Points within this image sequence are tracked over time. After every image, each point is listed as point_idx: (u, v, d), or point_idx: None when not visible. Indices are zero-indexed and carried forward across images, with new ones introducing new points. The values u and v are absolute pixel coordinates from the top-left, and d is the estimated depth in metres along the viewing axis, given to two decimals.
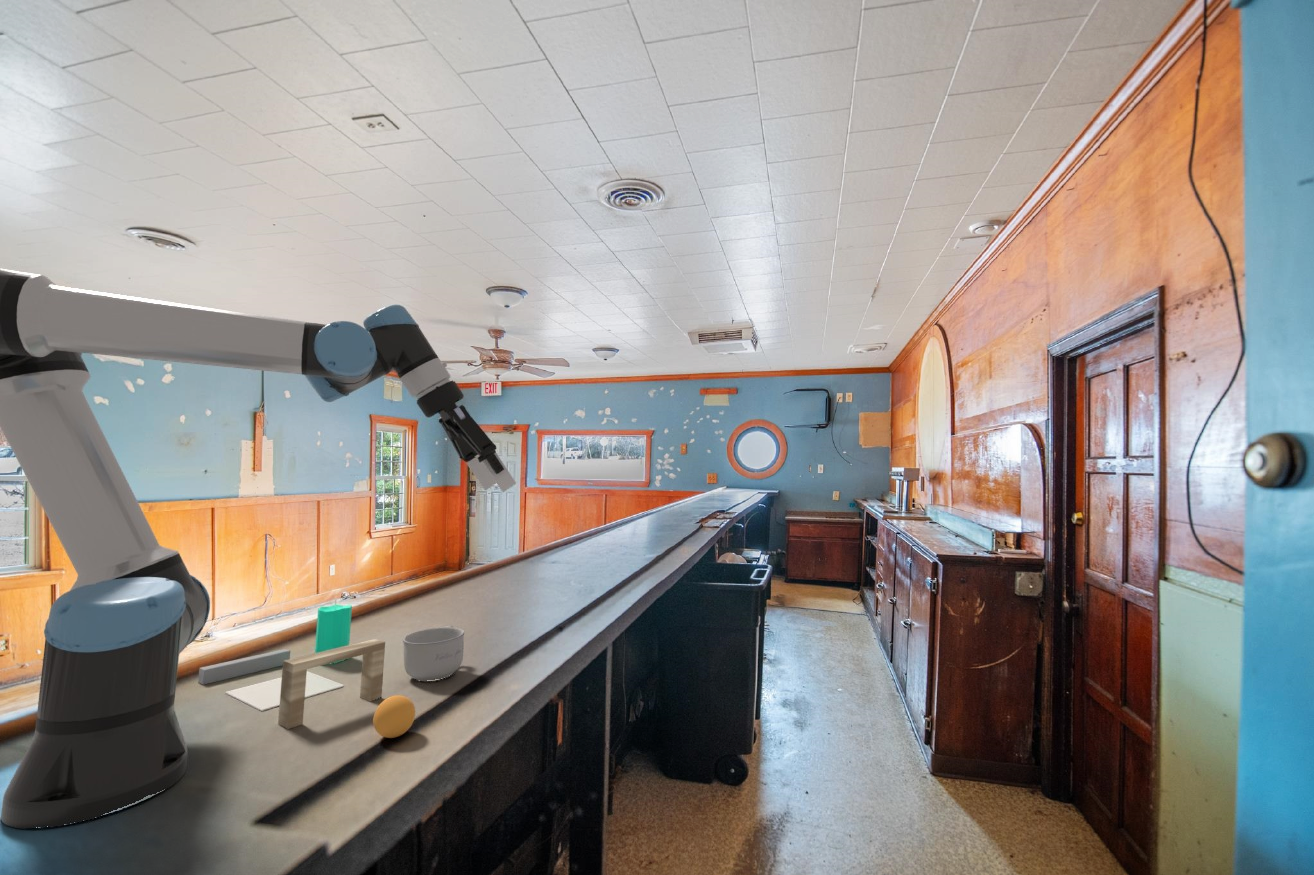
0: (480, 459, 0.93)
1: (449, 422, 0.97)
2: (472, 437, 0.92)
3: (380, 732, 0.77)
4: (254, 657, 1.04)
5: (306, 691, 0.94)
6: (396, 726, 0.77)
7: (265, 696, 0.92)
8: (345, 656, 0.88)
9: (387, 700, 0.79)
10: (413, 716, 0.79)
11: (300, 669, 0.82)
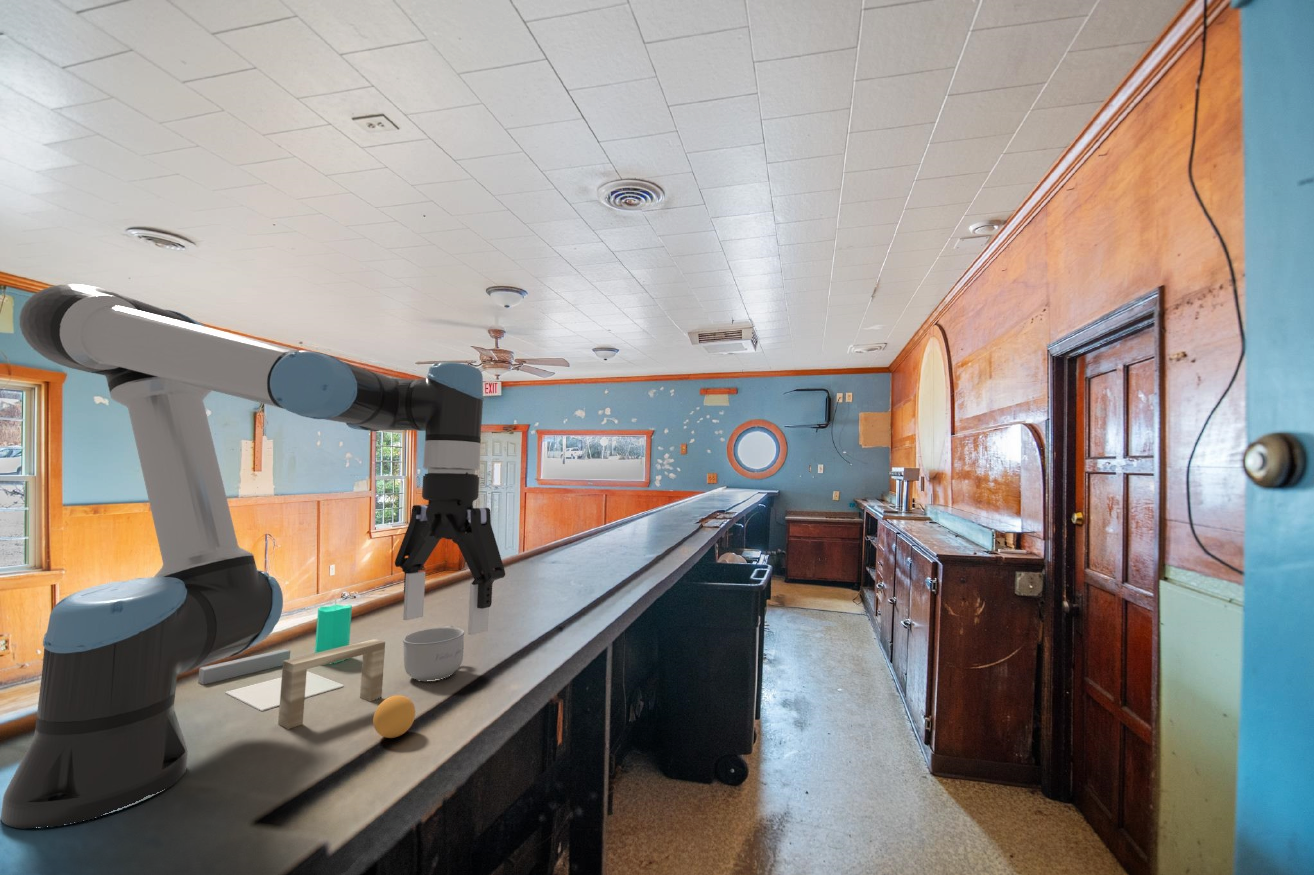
0: (477, 581, 0.71)
1: (451, 518, 0.75)
2: (486, 550, 0.72)
3: (380, 732, 0.77)
4: (254, 657, 1.04)
5: (306, 691, 0.94)
6: (396, 726, 0.77)
7: (265, 696, 0.92)
8: (345, 656, 0.88)
9: (387, 700, 0.79)
10: (413, 716, 0.79)
11: (300, 669, 0.82)
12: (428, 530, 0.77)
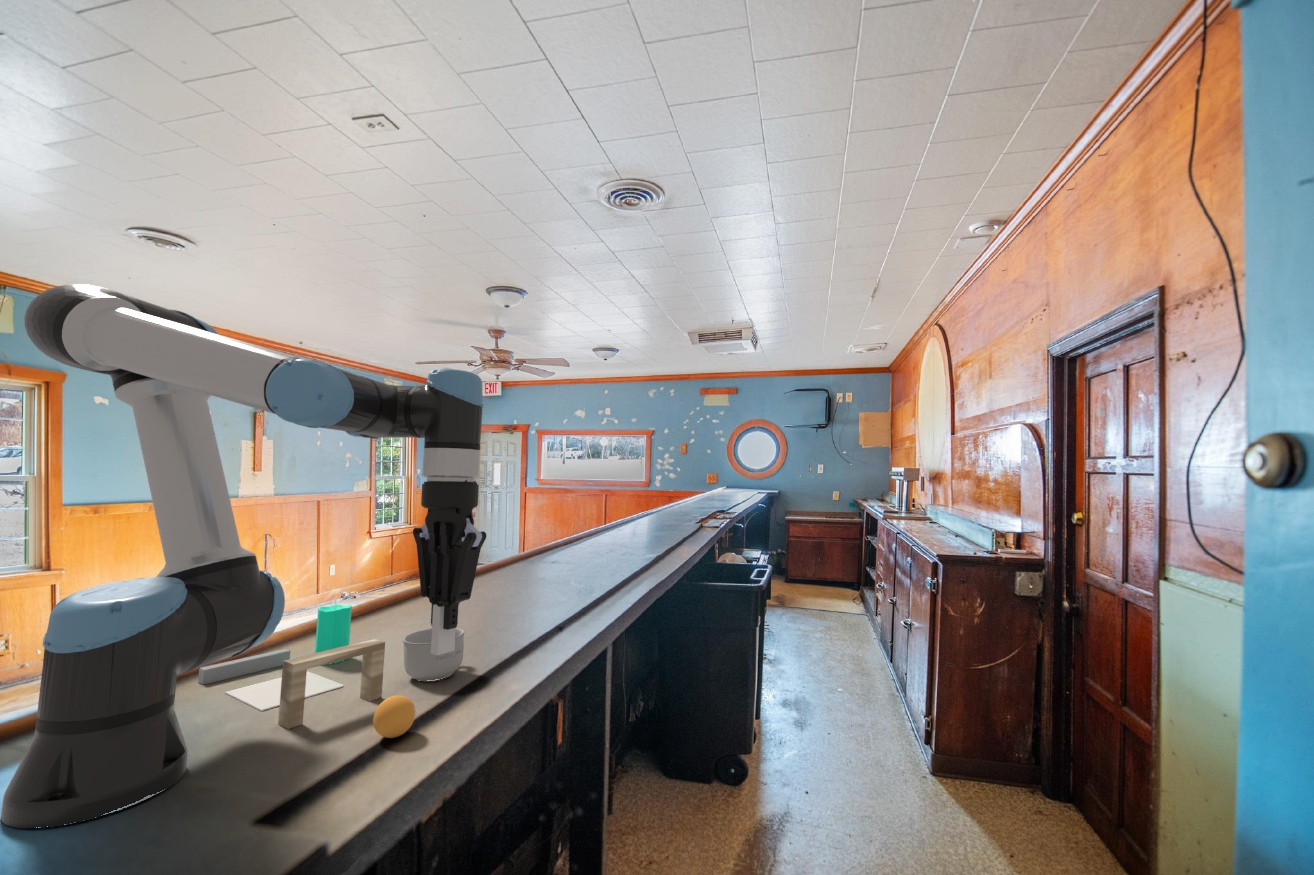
0: (442, 605, 0.73)
1: (449, 530, 0.75)
2: (462, 576, 0.73)
3: (380, 732, 0.77)
4: (254, 657, 1.04)
5: (306, 691, 0.94)
6: (396, 726, 0.77)
7: (265, 696, 0.92)
8: (345, 656, 0.88)
9: (387, 700, 0.79)
10: (413, 716, 0.79)
11: (300, 669, 0.82)
12: (434, 540, 0.76)
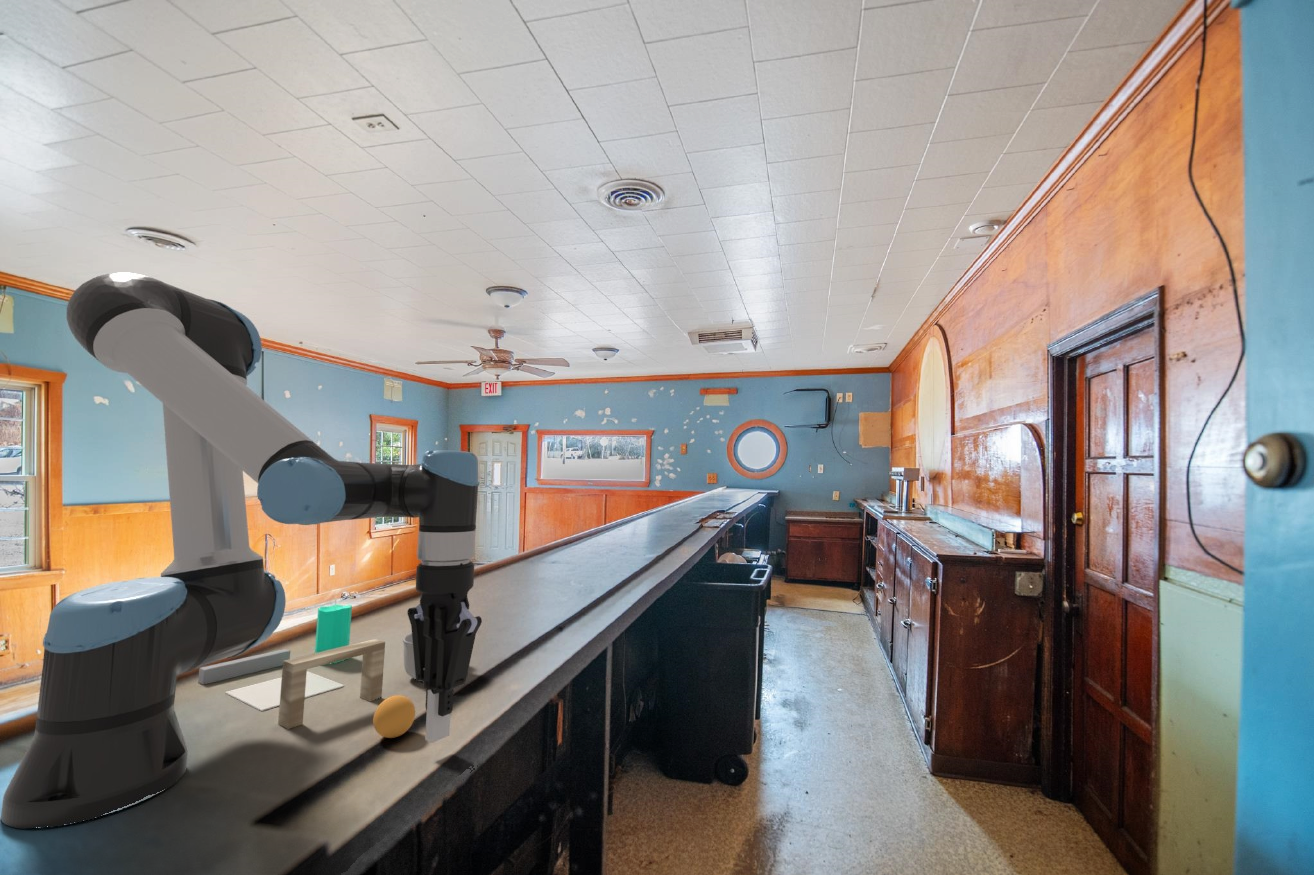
0: (436, 693, 0.73)
1: (444, 615, 0.74)
2: (457, 663, 0.72)
3: (380, 732, 0.77)
4: (254, 657, 1.04)
5: (306, 691, 0.94)
6: (396, 726, 0.77)
7: (265, 696, 0.92)
8: (345, 656, 0.88)
9: (387, 700, 0.79)
10: (413, 716, 0.79)
11: (300, 669, 0.82)
12: (428, 624, 0.75)
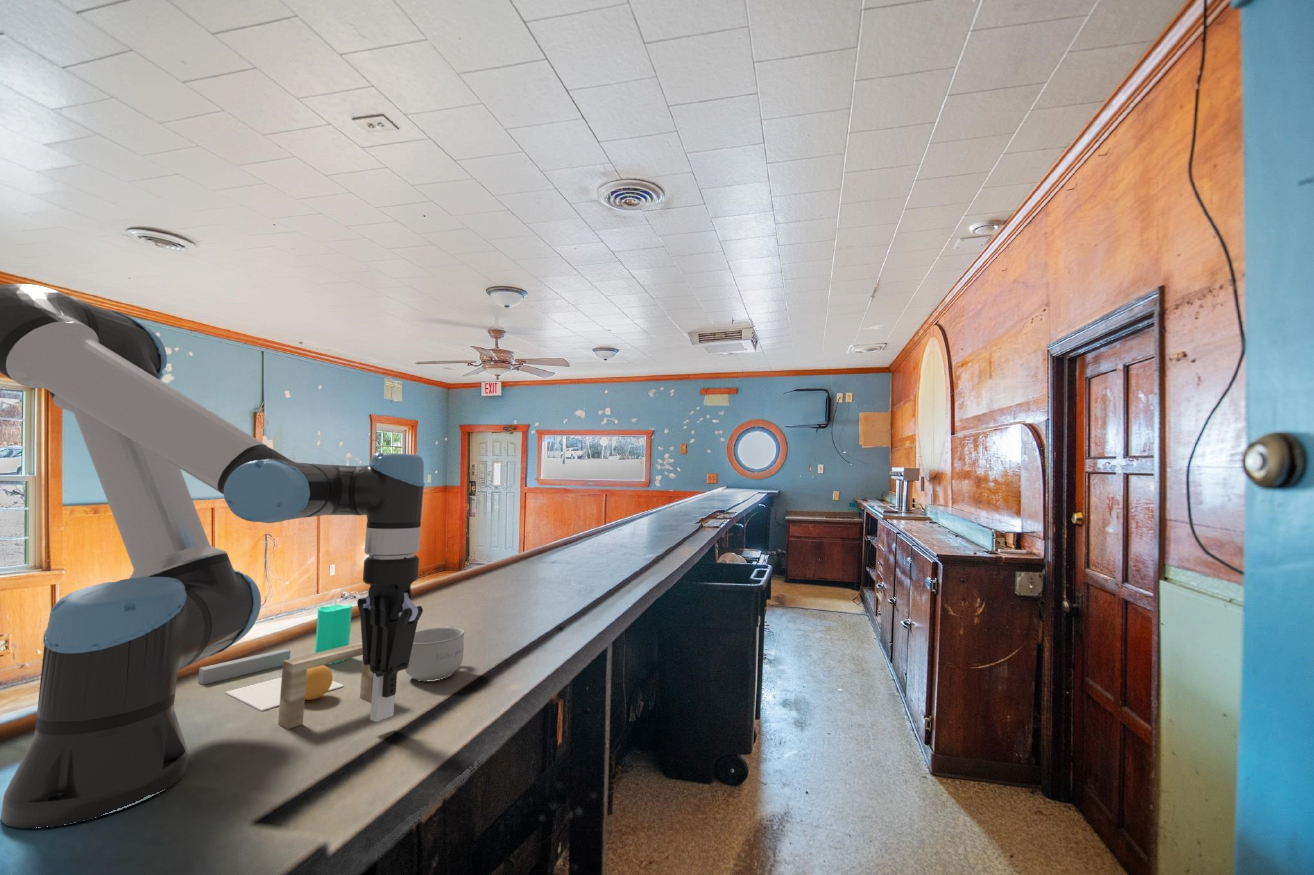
0: (380, 676, 0.79)
1: (388, 605, 0.80)
2: (399, 649, 0.79)
3: None
4: (254, 657, 1.04)
5: None
6: None
7: (265, 696, 0.92)
8: (345, 656, 0.88)
9: None
10: None
11: (300, 669, 0.82)
12: (374, 613, 0.81)
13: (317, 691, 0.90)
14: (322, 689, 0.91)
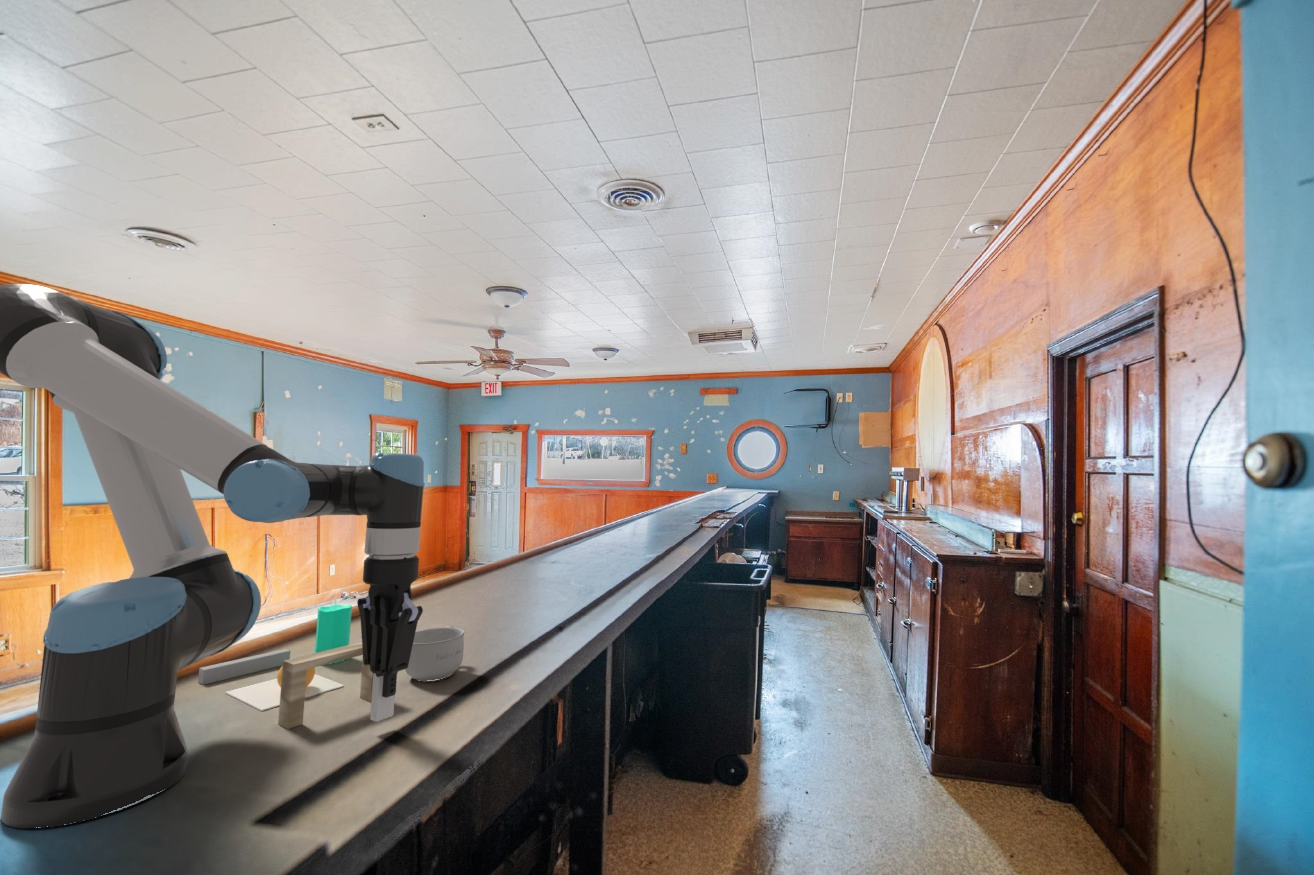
0: (380, 676, 0.79)
1: (388, 605, 0.80)
2: (399, 649, 0.79)
3: None
4: (254, 657, 1.04)
5: (306, 691, 0.94)
6: None
7: (265, 696, 0.92)
8: (345, 656, 0.88)
9: None
10: None
11: (300, 669, 0.82)
12: (374, 613, 0.81)
13: None
14: None
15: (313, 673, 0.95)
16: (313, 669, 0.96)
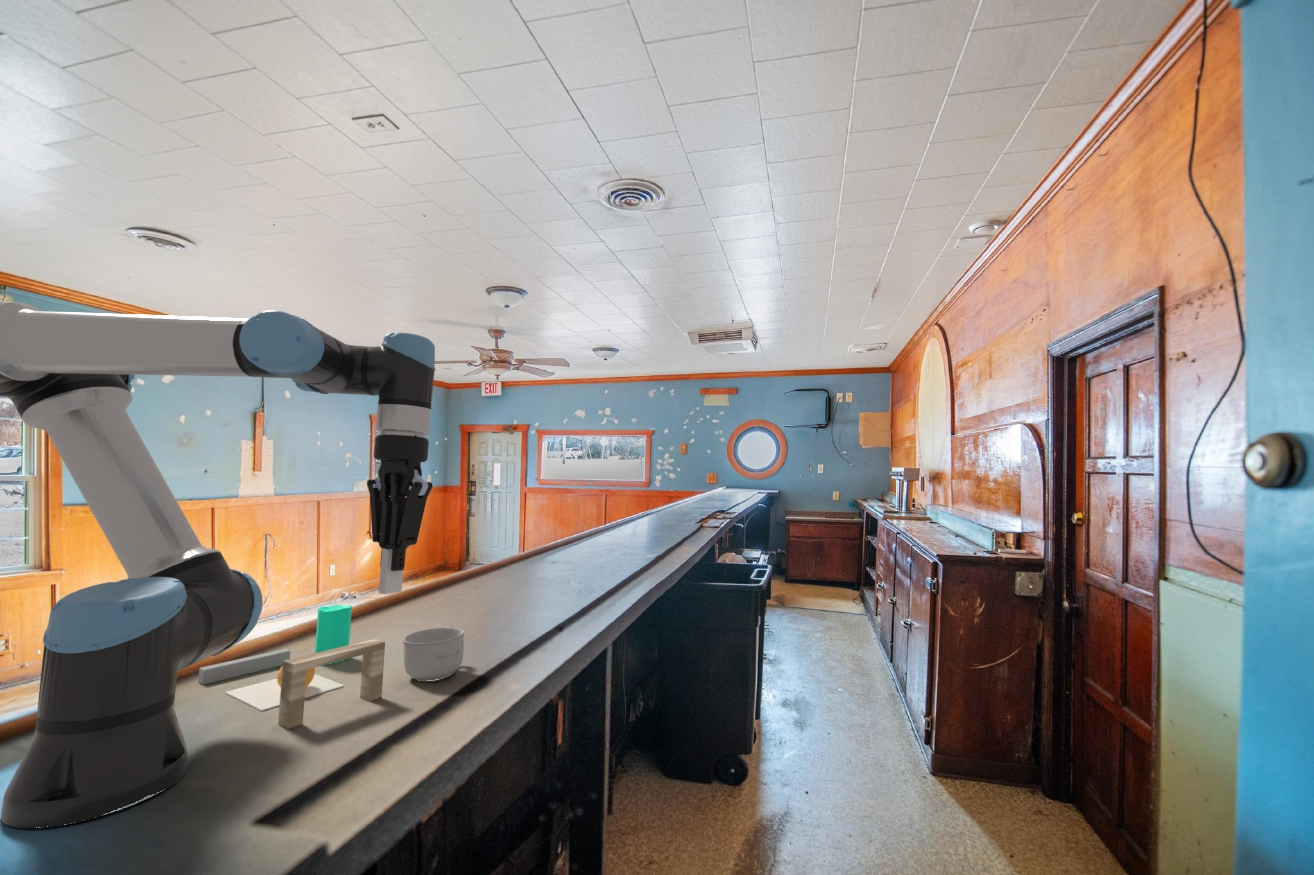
0: (389, 548, 0.80)
1: (398, 480, 0.81)
2: (409, 522, 0.80)
3: None
4: (254, 657, 1.04)
5: (306, 691, 0.94)
6: None
7: (265, 696, 0.92)
8: (345, 656, 0.88)
9: None
10: None
11: (300, 669, 0.82)
12: (384, 490, 0.82)
13: None
14: None
15: (313, 673, 0.95)
16: (313, 669, 0.96)
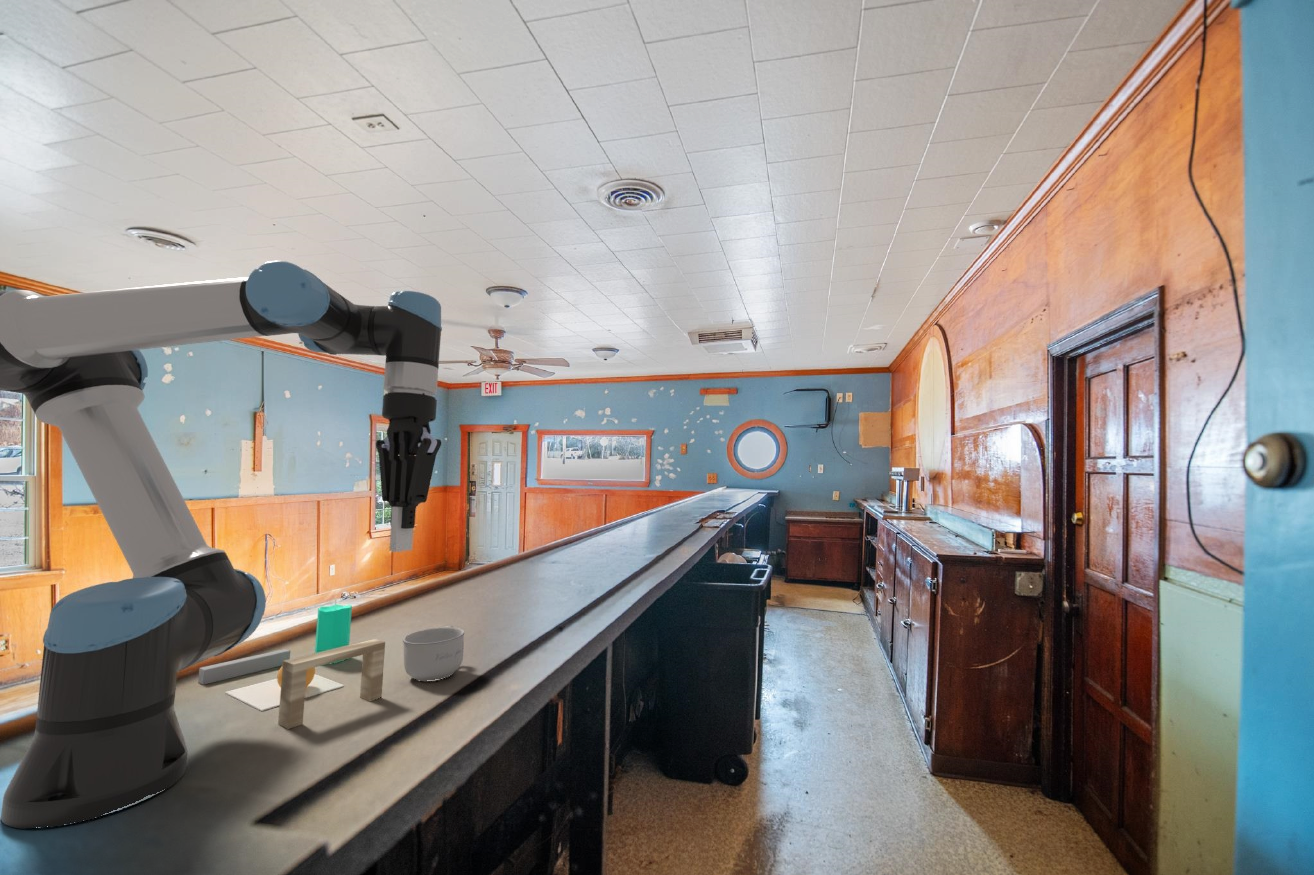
0: (399, 505, 0.80)
1: (407, 438, 0.81)
2: (418, 478, 0.80)
3: None
4: (254, 657, 1.04)
5: (306, 691, 0.94)
6: None
7: (265, 696, 0.92)
8: (345, 656, 0.88)
9: None
10: None
11: (300, 669, 0.82)
12: (393, 448, 0.82)
13: None
14: None
15: (313, 673, 0.95)
16: (313, 669, 0.96)
